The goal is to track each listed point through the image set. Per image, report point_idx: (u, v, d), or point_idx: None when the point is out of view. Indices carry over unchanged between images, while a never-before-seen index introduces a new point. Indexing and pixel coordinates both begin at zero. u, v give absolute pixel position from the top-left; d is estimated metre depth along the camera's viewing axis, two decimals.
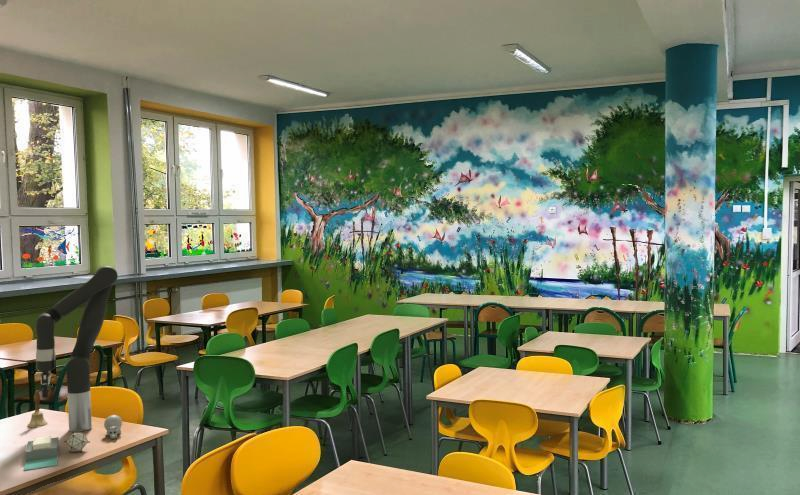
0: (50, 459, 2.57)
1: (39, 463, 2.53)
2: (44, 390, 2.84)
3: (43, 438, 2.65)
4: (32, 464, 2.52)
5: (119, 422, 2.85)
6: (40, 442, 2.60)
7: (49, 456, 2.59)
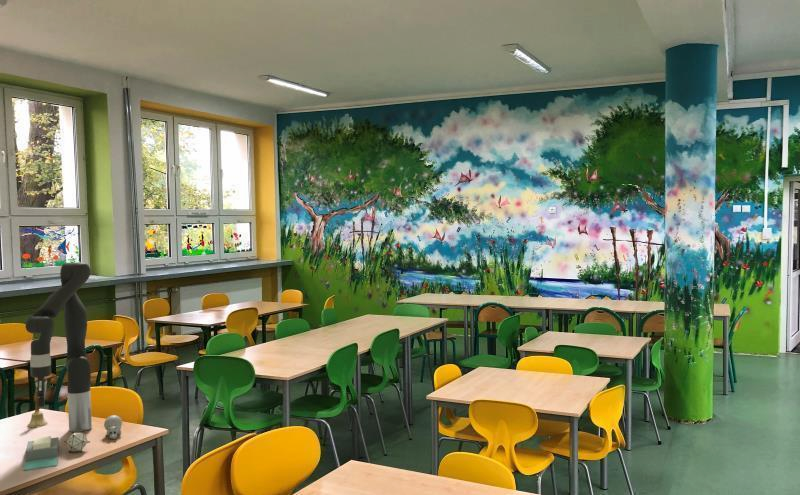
0: (50, 459, 2.57)
1: (39, 463, 2.53)
2: (40, 398, 2.70)
3: (43, 438, 2.65)
4: (32, 464, 2.52)
5: (119, 422, 2.85)
6: (40, 442, 2.60)
7: (49, 456, 2.59)
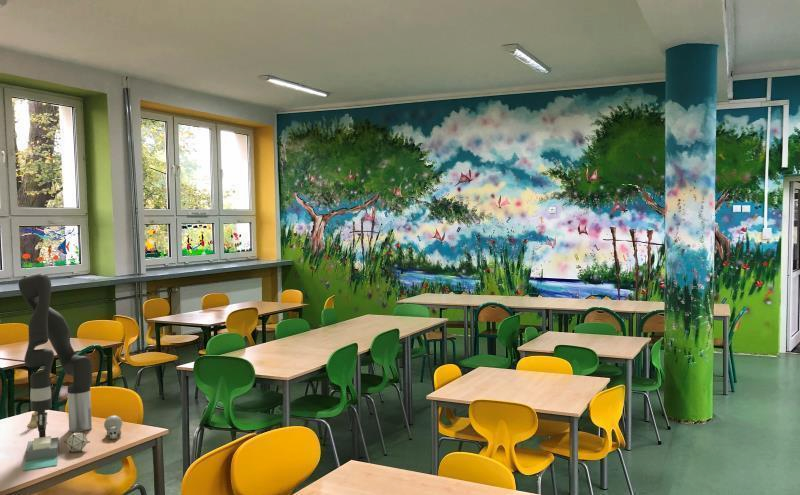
0: (50, 459, 2.57)
1: (39, 463, 2.53)
2: (41, 432, 2.67)
3: (43, 438, 2.65)
4: (32, 464, 2.52)
5: (119, 422, 2.85)
6: (40, 442, 2.60)
7: (49, 456, 2.59)
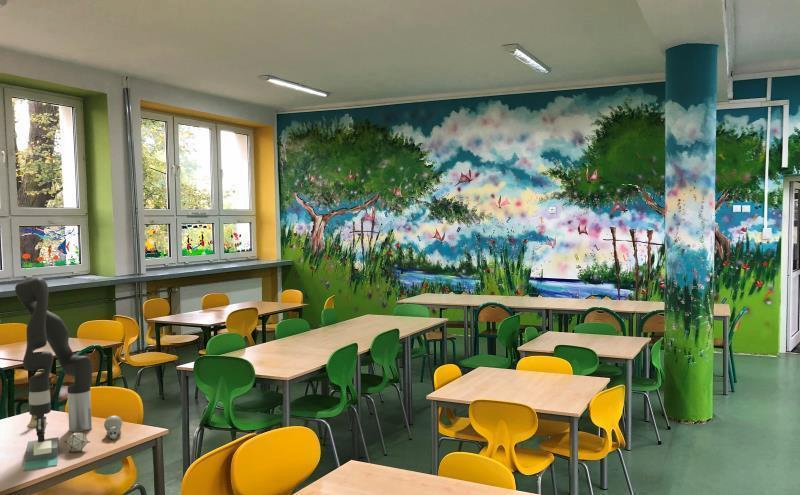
0: (50, 459, 2.57)
1: (39, 463, 2.53)
2: (40, 437, 2.61)
3: (43, 443, 2.59)
4: (32, 464, 2.52)
5: (119, 423, 2.85)
6: (41, 447, 2.54)
7: (49, 456, 2.59)
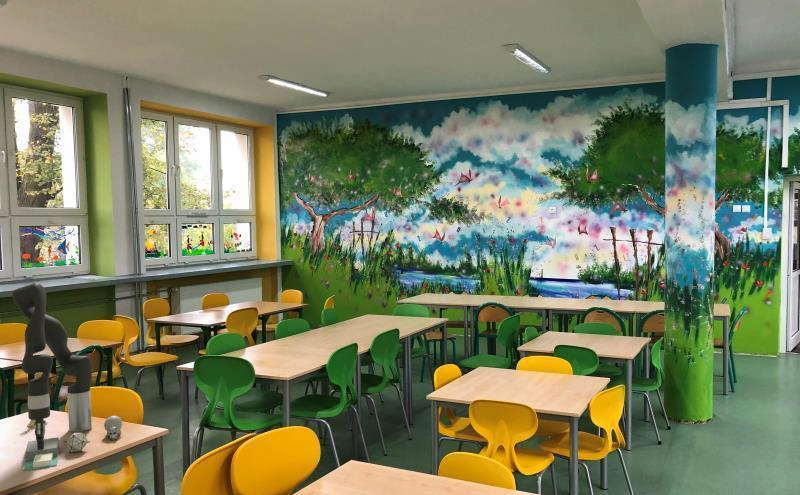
0: None
1: None
2: (39, 442, 2.55)
3: (44, 455, 2.56)
4: (32, 464, 2.52)
5: (119, 423, 2.84)
6: (41, 459, 2.51)
7: None
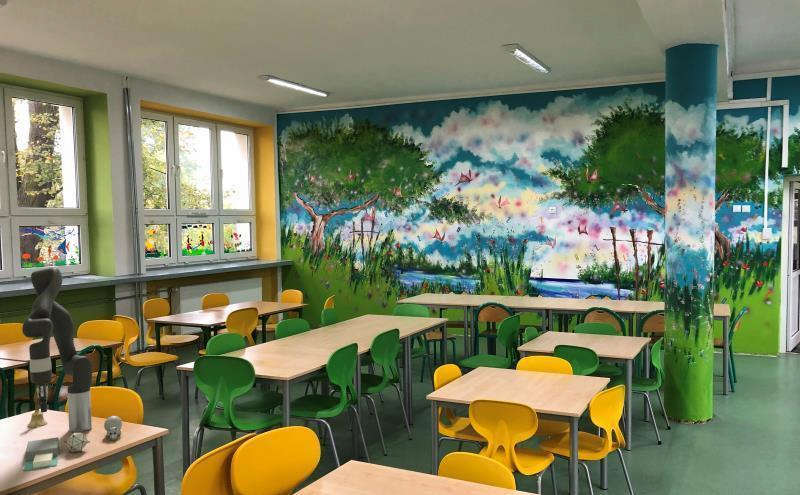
0: None
1: None
2: (42, 404, 2.59)
3: (44, 455, 2.56)
4: (32, 464, 2.52)
5: (119, 423, 2.84)
6: (41, 459, 2.51)
7: None
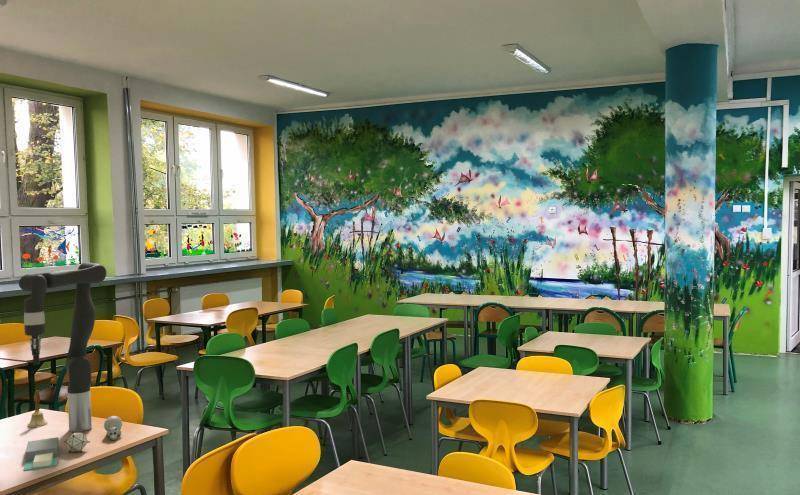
0: None
1: None
2: (35, 357, 2.68)
3: (44, 455, 2.56)
4: (32, 464, 2.52)
5: (119, 423, 2.84)
6: (41, 459, 2.51)
7: None
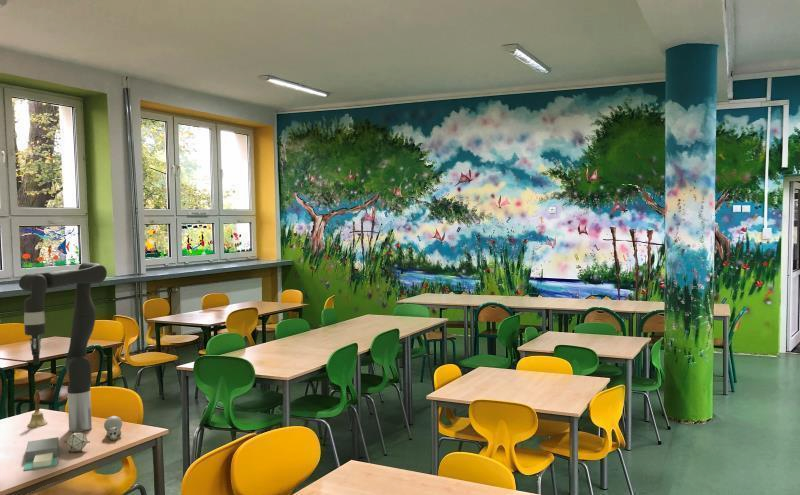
0: None
1: None
2: (35, 357, 2.68)
3: (44, 455, 2.56)
4: (32, 464, 2.52)
5: (119, 423, 2.84)
6: (41, 459, 2.51)
7: None
